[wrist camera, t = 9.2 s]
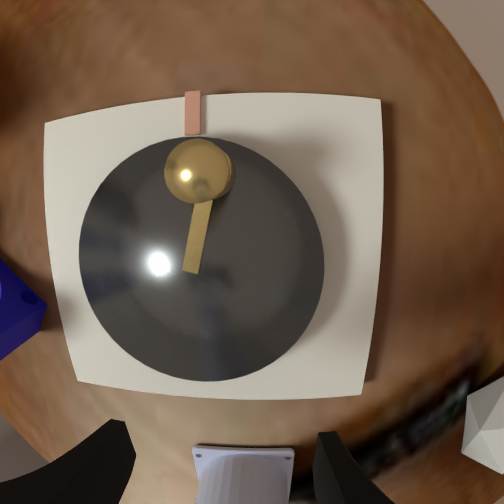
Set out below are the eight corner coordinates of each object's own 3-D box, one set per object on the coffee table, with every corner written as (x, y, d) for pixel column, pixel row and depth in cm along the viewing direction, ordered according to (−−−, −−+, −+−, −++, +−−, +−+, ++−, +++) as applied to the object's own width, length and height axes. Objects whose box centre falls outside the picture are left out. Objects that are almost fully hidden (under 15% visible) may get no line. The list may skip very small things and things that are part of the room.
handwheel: (283, 393, 17) (287, 438, 14) (82, 338, 17) (49, 369, 13) (349, 172, 15) (377, 169, 11) (105, 123, 15) (64, 111, 11)
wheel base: (356, 384, 19) (362, 399, 18) (84, 372, 20) (74, 384, 19) (373, 101, 16) (383, 93, 14) (55, 122, 16) (40, 119, 15)
